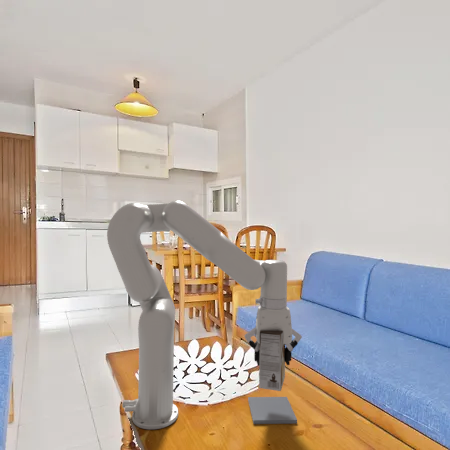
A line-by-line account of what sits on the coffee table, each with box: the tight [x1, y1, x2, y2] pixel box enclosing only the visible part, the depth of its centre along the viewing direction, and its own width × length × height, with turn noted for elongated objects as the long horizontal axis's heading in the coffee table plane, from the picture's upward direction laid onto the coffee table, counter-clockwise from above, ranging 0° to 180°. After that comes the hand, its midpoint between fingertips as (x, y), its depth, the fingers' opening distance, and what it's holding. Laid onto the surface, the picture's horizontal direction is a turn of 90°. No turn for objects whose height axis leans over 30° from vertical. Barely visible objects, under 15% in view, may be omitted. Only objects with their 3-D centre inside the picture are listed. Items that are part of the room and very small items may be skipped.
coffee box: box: [258, 330, 286, 392], centre depth 96 cm, size 9×6×16 cm
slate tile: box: [247, 396, 298, 425], centre depth 97 cm, size 12×12×1 cm
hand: (272, 363), depth 97 cm, fingers closed on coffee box, 7 cm apart
